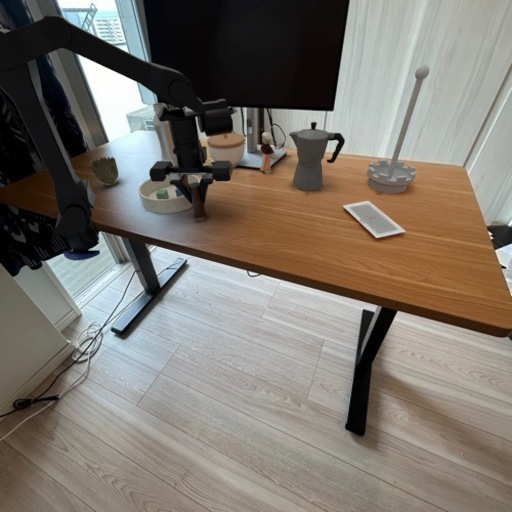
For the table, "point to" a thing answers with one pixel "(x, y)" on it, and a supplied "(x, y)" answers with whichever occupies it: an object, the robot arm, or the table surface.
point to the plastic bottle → (164, 136)
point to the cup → (105, 170)
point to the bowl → (164, 205)
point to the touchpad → (373, 219)
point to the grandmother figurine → (266, 152)
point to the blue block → (178, 193)
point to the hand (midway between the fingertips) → (198, 202)
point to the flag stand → (397, 152)
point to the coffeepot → (312, 155)
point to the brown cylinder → (197, 200)
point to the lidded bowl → (226, 148)
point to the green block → (162, 194)
